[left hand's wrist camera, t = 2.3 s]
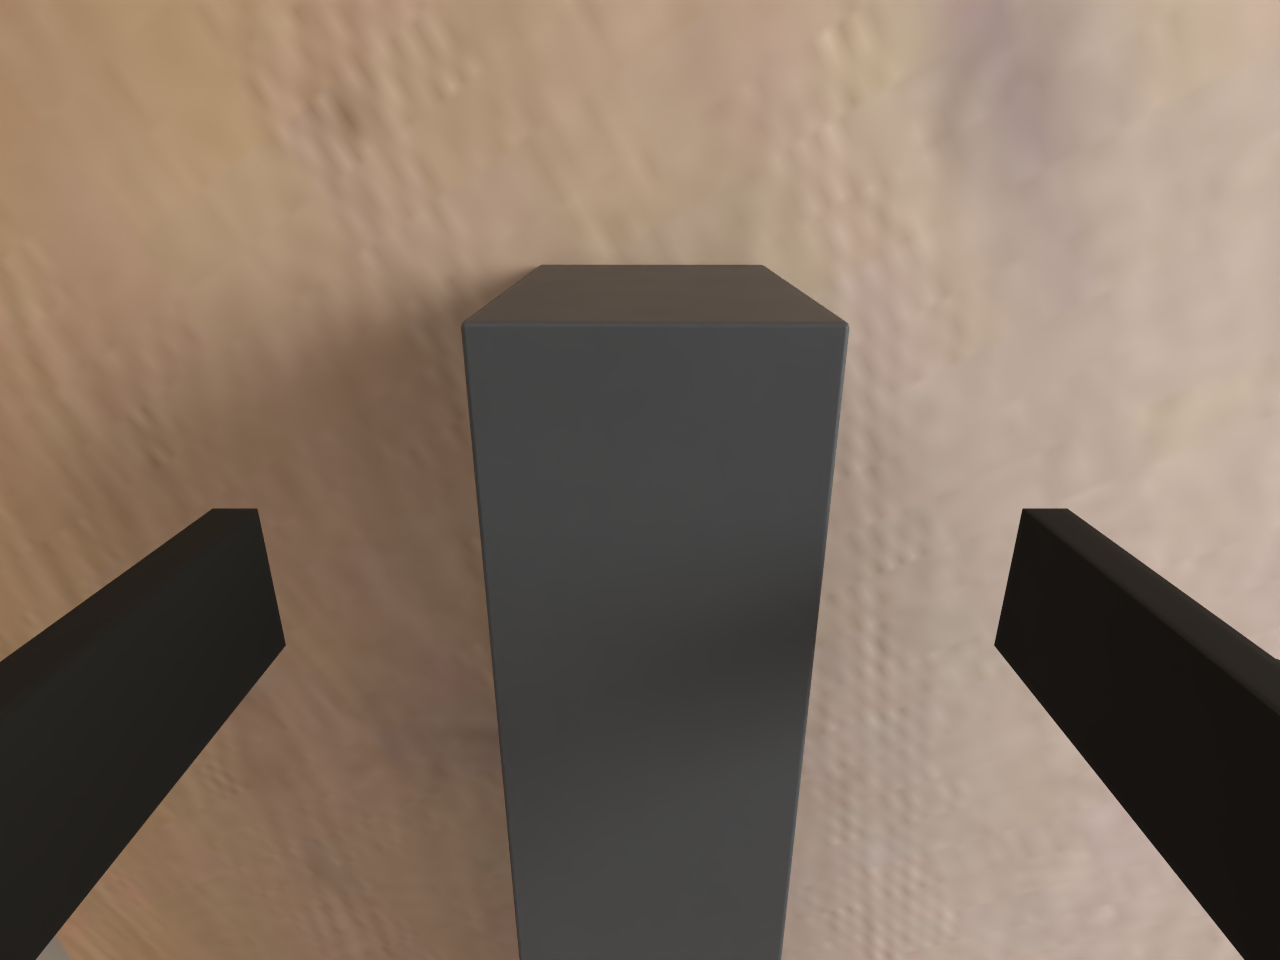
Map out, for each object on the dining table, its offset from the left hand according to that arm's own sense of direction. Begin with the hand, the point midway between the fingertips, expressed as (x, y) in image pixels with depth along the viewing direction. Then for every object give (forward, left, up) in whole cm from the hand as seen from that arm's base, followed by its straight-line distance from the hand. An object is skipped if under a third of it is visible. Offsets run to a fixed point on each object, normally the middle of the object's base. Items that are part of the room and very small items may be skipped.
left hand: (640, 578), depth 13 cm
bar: (+11, 0, -8) cm, 14 cm away
